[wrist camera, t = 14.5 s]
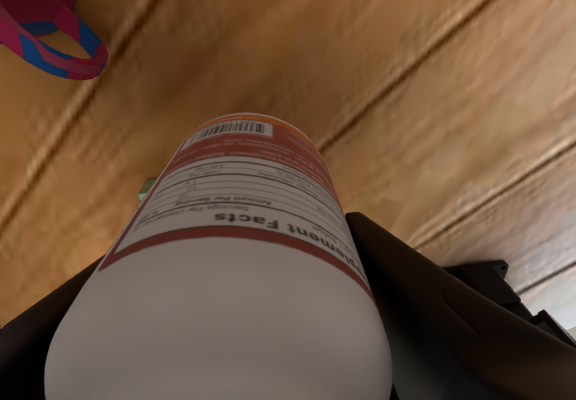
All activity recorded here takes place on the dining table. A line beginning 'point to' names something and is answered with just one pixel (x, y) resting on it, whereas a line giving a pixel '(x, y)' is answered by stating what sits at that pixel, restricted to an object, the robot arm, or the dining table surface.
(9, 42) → the cup
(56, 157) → the dining table surface
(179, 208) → the pill bottle
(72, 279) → the robot arm
